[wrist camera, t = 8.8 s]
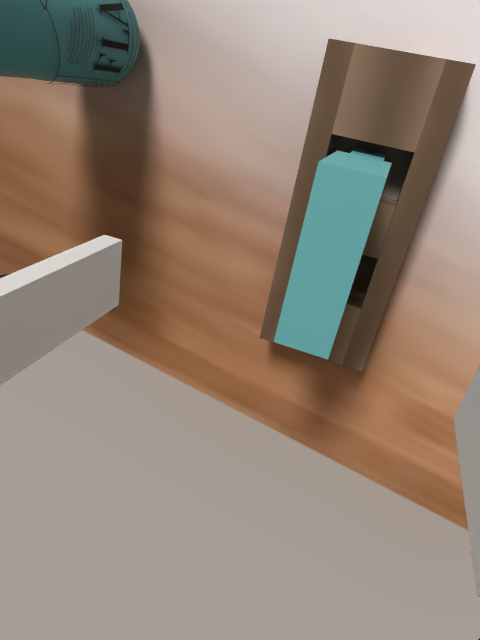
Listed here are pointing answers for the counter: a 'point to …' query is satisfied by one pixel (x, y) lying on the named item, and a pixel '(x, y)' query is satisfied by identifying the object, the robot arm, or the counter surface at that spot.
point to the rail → (384, 129)
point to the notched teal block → (330, 248)
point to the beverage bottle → (68, 40)
